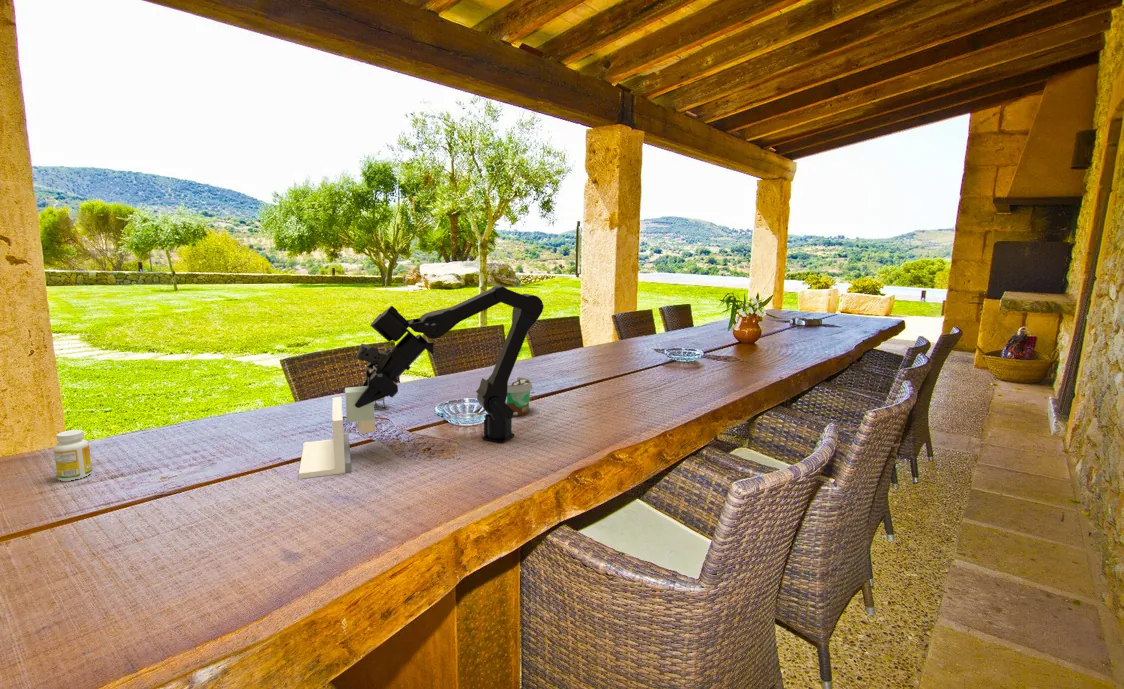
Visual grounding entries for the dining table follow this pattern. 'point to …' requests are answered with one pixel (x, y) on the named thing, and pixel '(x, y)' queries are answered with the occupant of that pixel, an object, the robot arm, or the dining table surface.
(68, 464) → the supplement bottle
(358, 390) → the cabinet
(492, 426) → the robot arm
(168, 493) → the dining table surface
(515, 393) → the food container
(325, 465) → the cream l-shaped piece
